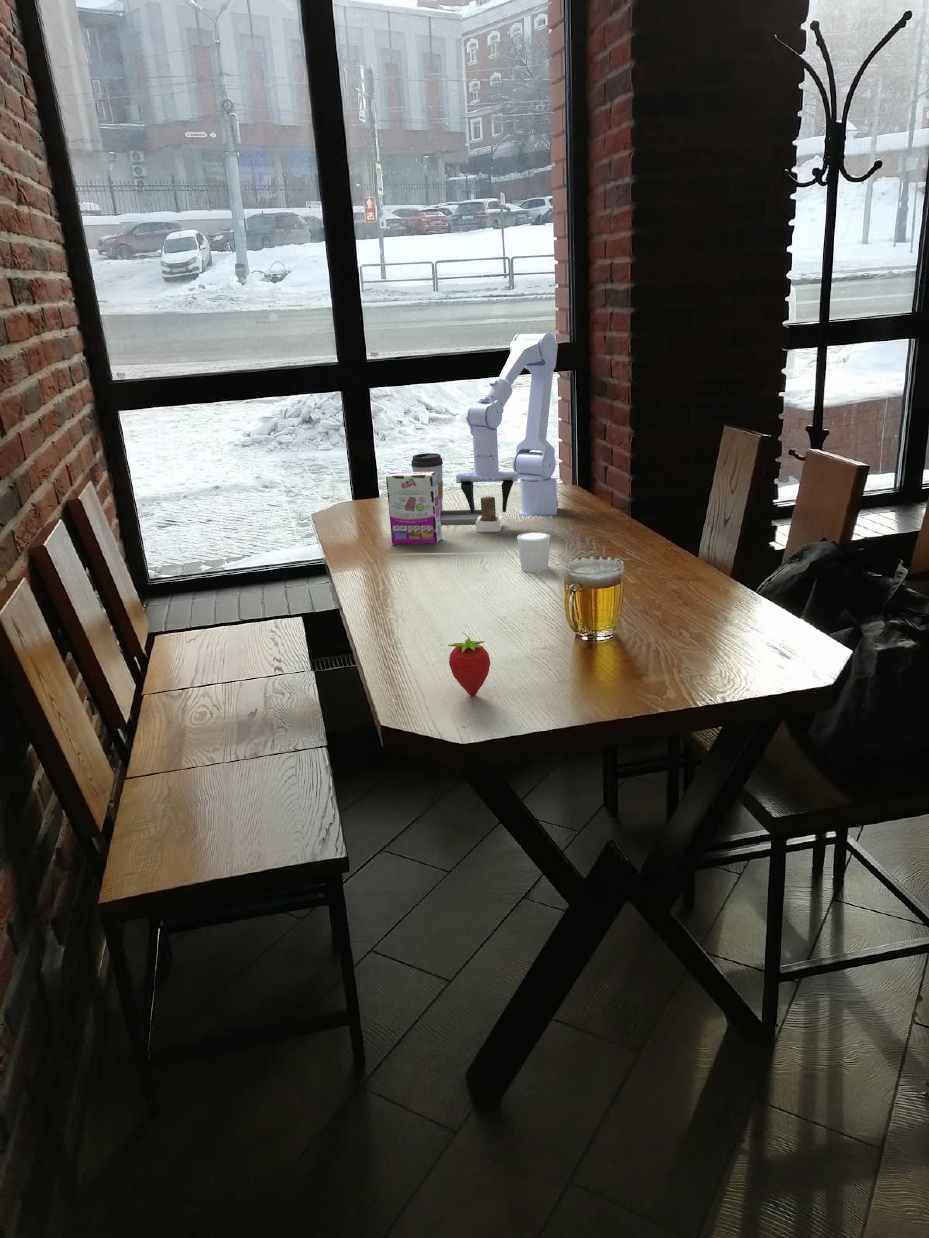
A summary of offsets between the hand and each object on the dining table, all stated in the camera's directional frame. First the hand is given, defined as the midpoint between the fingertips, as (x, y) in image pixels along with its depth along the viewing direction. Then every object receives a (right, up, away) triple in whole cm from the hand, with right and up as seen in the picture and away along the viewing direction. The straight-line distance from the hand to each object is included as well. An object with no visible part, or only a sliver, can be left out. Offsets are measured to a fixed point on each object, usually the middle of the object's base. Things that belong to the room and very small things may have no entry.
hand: (488, 511), depth 223 cm
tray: (-6, -1, +12) cm, 14 cm away
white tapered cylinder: (+9, -15, -30) cm, 35 cm away
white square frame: (0, -4, +2) cm, 5 cm away
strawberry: (-5, -37, -88) cm, 95 cm away
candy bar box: (-17, -8, -5) cm, 19 cm away
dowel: (0, -4, +1) cm, 4 cm away
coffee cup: (-15, +2, +23) cm, 27 cm away
